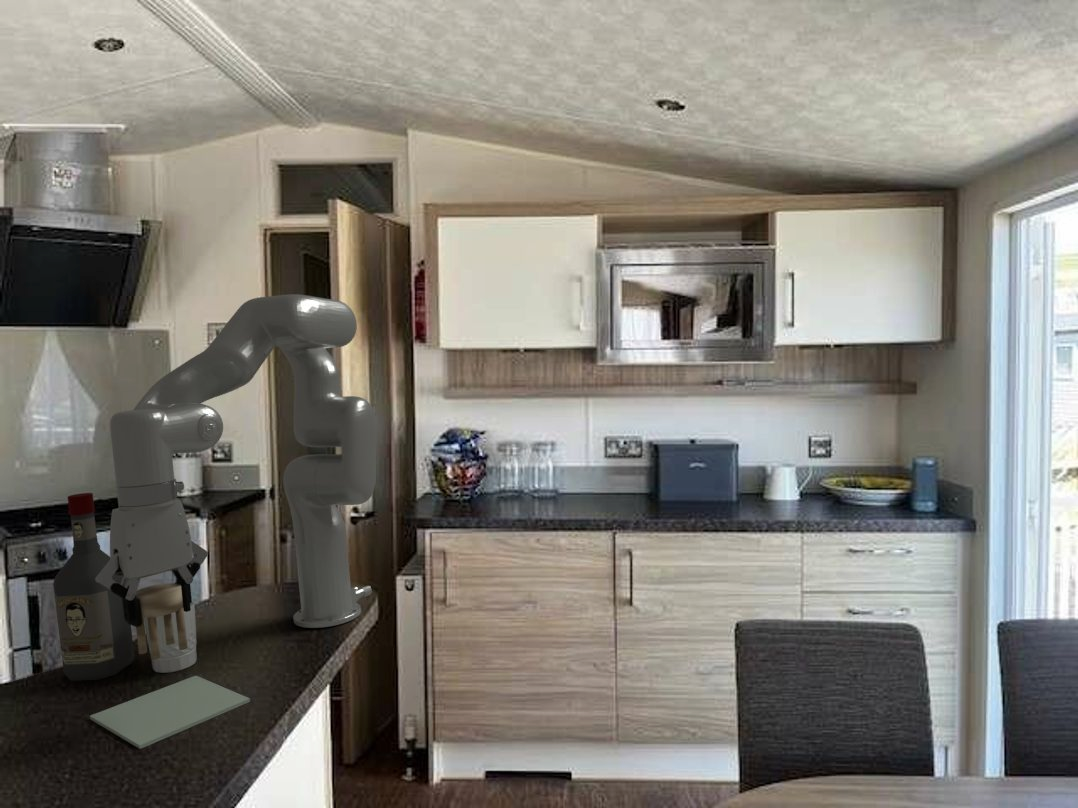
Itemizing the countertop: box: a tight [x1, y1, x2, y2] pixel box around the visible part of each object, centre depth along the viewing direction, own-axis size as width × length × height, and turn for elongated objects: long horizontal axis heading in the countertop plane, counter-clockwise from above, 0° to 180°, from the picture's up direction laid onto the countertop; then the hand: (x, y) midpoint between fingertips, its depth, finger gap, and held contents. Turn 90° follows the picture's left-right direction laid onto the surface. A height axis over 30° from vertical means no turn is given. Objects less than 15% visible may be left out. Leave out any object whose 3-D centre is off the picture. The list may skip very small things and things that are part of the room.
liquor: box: [52, 492, 135, 682], centre depth 133 cm, size 9×9×30 cm
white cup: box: [144, 600, 198, 674], centre depth 134 cm, size 8×8×10 cm
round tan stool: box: [135, 582, 188, 661], centre depth 115 cm, size 6×6×9 cm
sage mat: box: [89, 675, 251, 750], centre depth 116 cm, size 16×16×1 cm
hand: (159, 616), depth 115 cm, fingers closed on round tan stool, 6 cm apart
